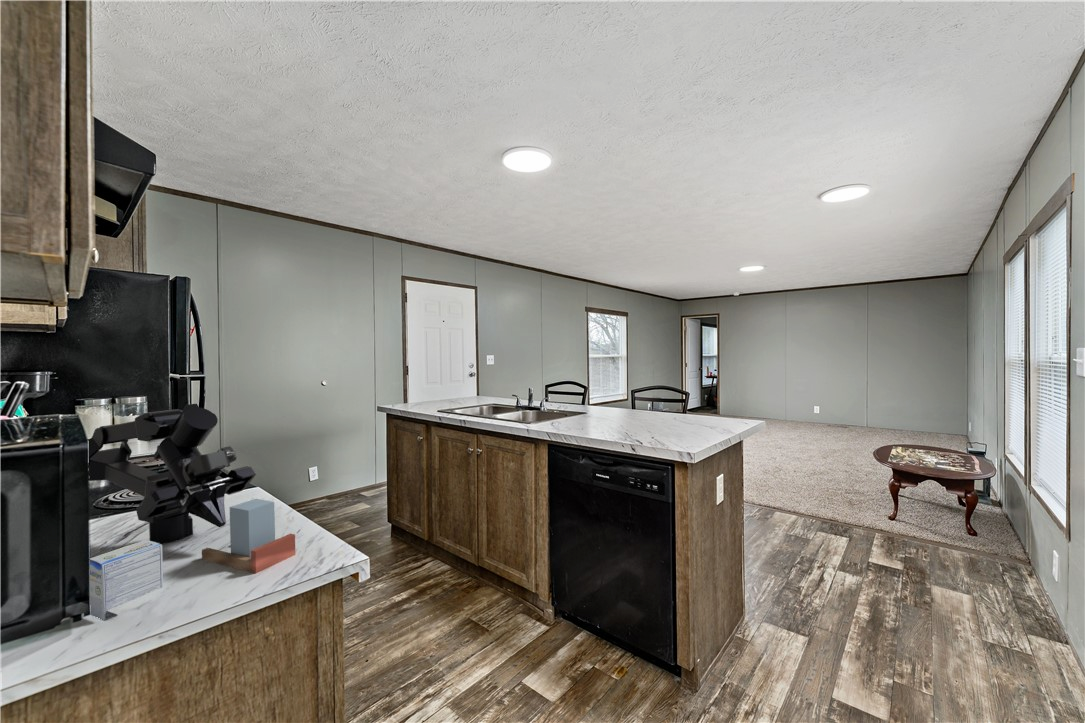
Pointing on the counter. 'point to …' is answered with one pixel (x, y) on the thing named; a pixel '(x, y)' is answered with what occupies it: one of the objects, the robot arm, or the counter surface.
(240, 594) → the counter surface
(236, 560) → the key housing
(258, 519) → the slate key
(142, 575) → the medicine box
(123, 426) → the robot arm
